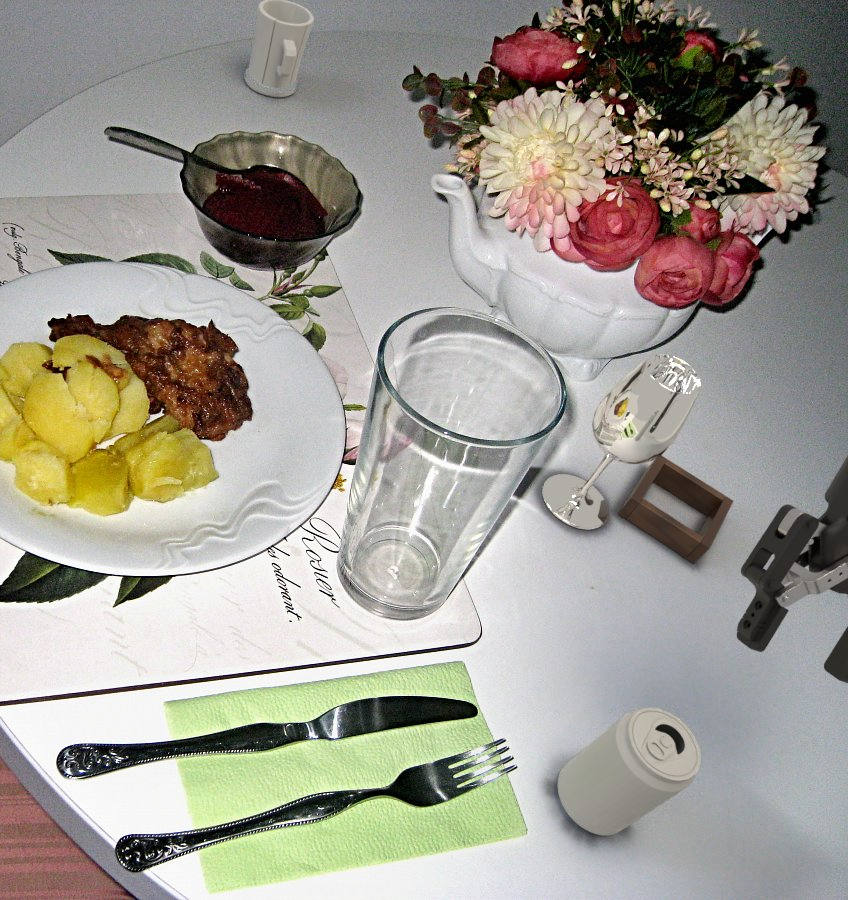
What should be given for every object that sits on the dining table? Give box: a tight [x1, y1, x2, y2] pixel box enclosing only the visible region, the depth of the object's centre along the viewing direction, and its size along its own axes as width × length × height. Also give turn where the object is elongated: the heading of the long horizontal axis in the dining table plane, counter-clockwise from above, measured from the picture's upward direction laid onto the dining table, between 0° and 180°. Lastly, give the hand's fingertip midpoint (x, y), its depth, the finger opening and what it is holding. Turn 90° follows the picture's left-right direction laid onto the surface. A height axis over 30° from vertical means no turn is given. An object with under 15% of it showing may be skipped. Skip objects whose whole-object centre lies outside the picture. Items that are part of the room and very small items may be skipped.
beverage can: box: [557, 707, 702, 836], centre depth 71 cm, size 6×6×12 cm
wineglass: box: [541, 352, 703, 530], centre depth 91 cm, size 8×8×20 cm
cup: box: [243, 0, 315, 98], centre depth 143 cm, size 10×9×12 cm
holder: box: [617, 454, 734, 565], centre depth 99 cm, size 9×9×3 cm
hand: (792, 661), depth 66 cm, fingers open, 8 cm apart
